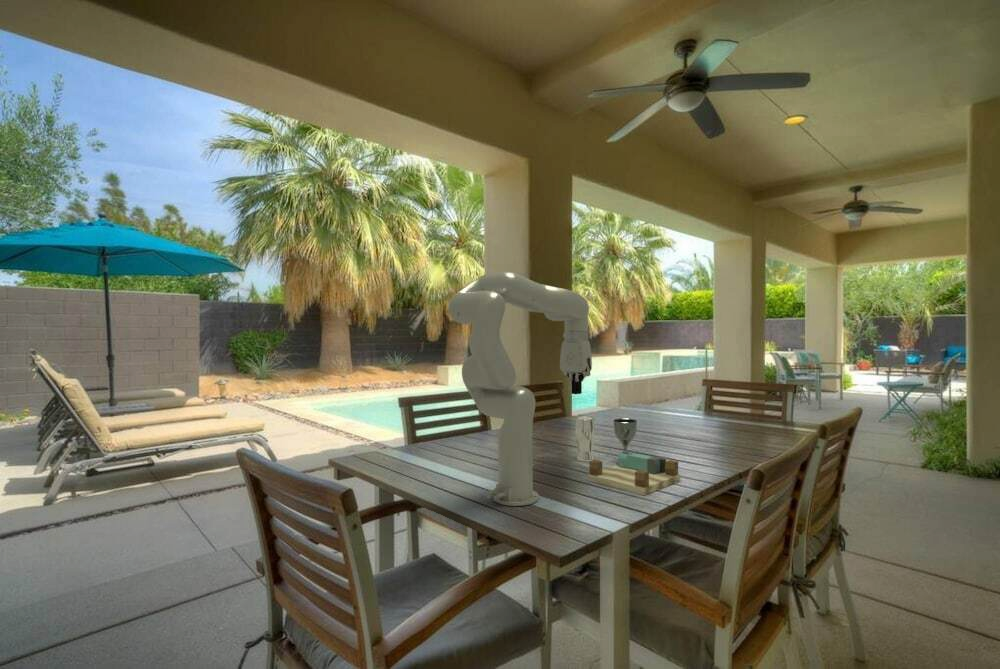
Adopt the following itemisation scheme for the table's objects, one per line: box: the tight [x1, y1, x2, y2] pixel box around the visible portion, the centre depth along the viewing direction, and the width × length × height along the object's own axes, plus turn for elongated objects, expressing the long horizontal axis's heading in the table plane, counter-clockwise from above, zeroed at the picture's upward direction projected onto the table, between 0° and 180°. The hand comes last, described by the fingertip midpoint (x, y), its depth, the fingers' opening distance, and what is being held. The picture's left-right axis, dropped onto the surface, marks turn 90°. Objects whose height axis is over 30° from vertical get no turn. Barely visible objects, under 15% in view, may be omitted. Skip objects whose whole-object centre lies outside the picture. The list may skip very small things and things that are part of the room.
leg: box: [618, 450, 660, 474], centre depth 164 cm, size 14×4×5 cm, turn 42°
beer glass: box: [574, 416, 596, 463], centre depth 185 cm, size 7×7×15 cm
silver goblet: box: [613, 418, 638, 465], centre depth 179 cm, size 8×8×15 cm
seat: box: [587, 456, 681, 496], centre depth 158 cm, size 20×20×6 cm
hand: (576, 393), depth 165 cm, fingers closed
